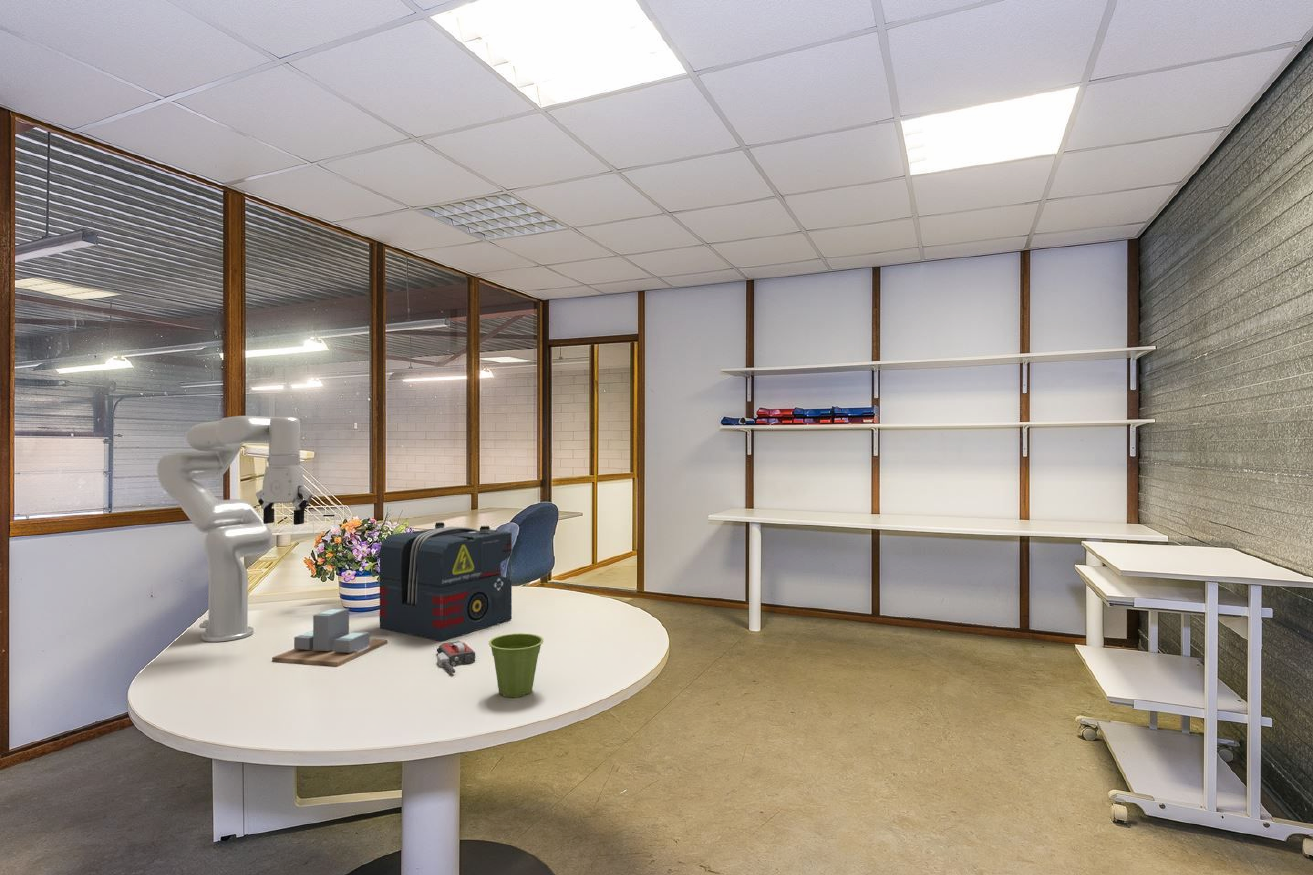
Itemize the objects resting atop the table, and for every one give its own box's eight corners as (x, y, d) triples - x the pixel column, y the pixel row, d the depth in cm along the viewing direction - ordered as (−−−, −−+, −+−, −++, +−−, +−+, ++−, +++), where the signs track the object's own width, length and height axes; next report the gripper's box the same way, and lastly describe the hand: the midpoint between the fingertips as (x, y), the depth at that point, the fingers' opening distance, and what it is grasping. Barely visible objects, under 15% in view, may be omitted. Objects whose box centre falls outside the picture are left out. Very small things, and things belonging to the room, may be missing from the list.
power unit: (441, 642, 184) (441, 533, 185) (378, 628, 199) (379, 528, 199) (512, 619, 208) (512, 524, 208) (452, 609, 222) (452, 519, 223)
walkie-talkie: (428, 656, 173) (448, 678, 156) (428, 639, 173) (449, 659, 156) (462, 650, 177) (485, 671, 160) (462, 633, 177) (485, 653, 160)
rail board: (272, 661, 168) (272, 642, 168) (327, 639, 187) (327, 622, 187) (337, 666, 163) (337, 647, 164) (387, 643, 183) (387, 626, 183)
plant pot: (493, 705, 138) (493, 651, 138) (484, 687, 149) (484, 636, 149) (549, 697, 143) (549, 644, 143) (536, 679, 154) (536, 630, 154)
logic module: (313, 650, 172) (313, 614, 172) (334, 641, 180) (334, 607, 180) (328, 651, 171) (328, 615, 171) (348, 642, 179) (349, 608, 179)
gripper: (246, 461, 181) (246, 524, 181) (301, 462, 177) (300, 526, 177) (268, 461, 188) (267, 521, 188) (321, 461, 185) (320, 523, 184)
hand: (283, 523), depth 183 cm, fingers open, 9 cm apart
